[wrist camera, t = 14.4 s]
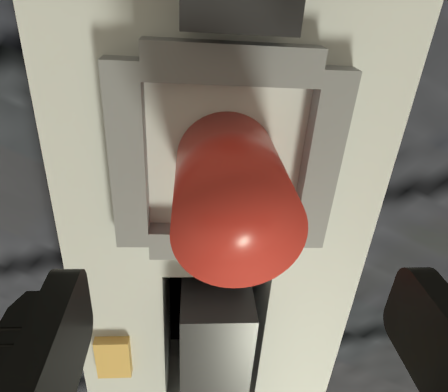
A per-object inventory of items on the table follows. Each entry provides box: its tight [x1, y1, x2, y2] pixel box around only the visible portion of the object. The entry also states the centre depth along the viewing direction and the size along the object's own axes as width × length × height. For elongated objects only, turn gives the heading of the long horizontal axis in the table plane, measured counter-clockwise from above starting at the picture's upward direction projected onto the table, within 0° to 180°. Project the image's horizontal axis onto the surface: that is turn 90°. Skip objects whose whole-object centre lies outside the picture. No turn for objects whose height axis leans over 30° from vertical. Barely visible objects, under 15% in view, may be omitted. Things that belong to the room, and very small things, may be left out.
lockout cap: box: [170, 111, 308, 288], centre depth 15 cm, size 4×4×6 cm
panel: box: [13, 0, 443, 392], centre depth 21 cm, size 16×32×8 cm, turn 177°
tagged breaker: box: [180, 277, 259, 392], centre depth 25 cm, size 4×10×8 cm, turn 177°
